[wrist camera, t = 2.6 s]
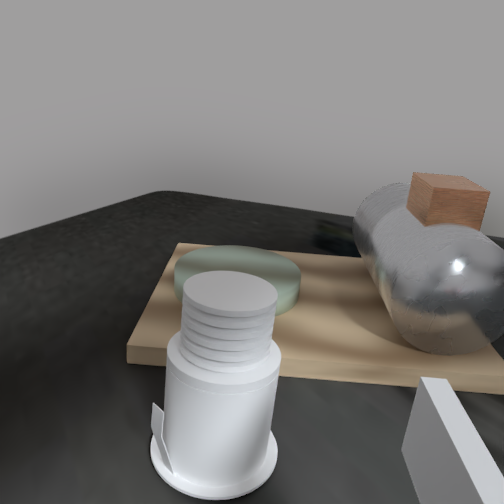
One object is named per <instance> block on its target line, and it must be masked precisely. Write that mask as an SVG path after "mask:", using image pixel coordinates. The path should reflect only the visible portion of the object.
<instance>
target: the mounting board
mask: <svg viewBox="0 0 504 504" xmlns="http://www.w3.org/2000/svg"><path fill="white" fill-rule="evenodd" d="M209 271H235V272H242V273H247V274H250V275H254V276H257V277H259V278H262V279H264V280H266V281H267V282H269V283H270V284H272V285H273V286H274V287H275V289H276V290H277V293H278V298H277V303H276V312H275V319H274V325H273V333H272V340H273V341H274V342H275V343H276V344H277V346H278V347H279V349H280V352H281V363H280V369H279V375H278V376H287V377H299V378H311V379H323V380H335V381H347V382H359V383H371V384H383V385H395V386H407V387H418V384H419V380H420V377H430V378H441V379H447V380H448V382H449V384H450V386H451V387H452V389H453V390H455V391H467V392H479V393H491V394H503V395H504V360H503V359H502V358H501V356H500V355H499V354H498V353H497V351H496V350H495V349H494V348H493V346H492V345H491V344H489V345H487V346H485V347H483V348H481V349H478V350H476V351H473V352H470V353H466V354H461V355H451V356H448V355H436V354H431V353H428V352H425V351H422V350H420V349H418V348H416V347H414V346H413V345H411V344H410V343H409V342H407V341H406V340H405V339H404V338H403V337H402V335H401V334H400V333H399V331H398V330H397V328H396V326H395V324H394V322H393V320H392V318H391V316H390V314H389V312H388V310H387V308H386V306H385V303H384V301H383V299H382V297H381V295H380V293H379V291H378V289H377V287H376V285H375V283H374V281H373V279H372V277H371V275H370V273H369V271H368V269H367V267H366V265H365V263H364V261H363V259H362V258H355V257H343V256H331V255H318V254H306V253H294V252H282V251H270V250H264V249H259V248H254V247H247V246H235V245H224V246H210V245H198V244H186V243H178V245H177V247H176V249H175V251H174V253H173V255H172V257H171V259H170V261H169V263H168V265H167V266H166V268H165V270H164V272H163V274H162V276H161V278H160V280H159V282H158V284H157V286H156V288H155V290H154V292H153V294H152V296H151V298H150V300H149V302H148V304H147V306H146V308H145V310H144V312H143V314H142V316H141V318H140V320H139V321H138V323H137V325H136V327H135V329H134V331H133V333H132V335H131V337H130V339H129V341H128V343H127V363H131V364H143V365H155V366H166V362H167V346H168V343H169V341H170V339H171V338H172V337H173V336H174V335H175V334H176V333H177V332H179V331H180V330H181V318H182V306H183V305H182V300H183V286H184V283H185V281H186V280H187V279H189V278H190V277H192V276H194V275H196V274H199V273H203V272H209Z"/></svg>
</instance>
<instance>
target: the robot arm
mask: <svg viewBox="0 0 504 504" xmlns="http://www.w3.org/2000/svg"><path fill="white" fill-rule="evenodd" d="M401 451H402V453H403V456H404V459H405V462H406V465H407V468H408V470H409V473H410V476H411V479H412V482H413V485H414V487H415V490H416V493H417V496H418V499H419V502H420V504H504V477H503V475H502V474H501V472H500V470H499V469H498V467H497V465H496V463H495V462H494V460H493V458H492V456H491V455H490V453H489V451H488V450H487V448H486V446H485V444H484V443H483V441H482V439H481V437H480V436H479V434H478V432H477V431H476V429H475V427H474V425H473V424H472V422H471V420H470V418H469V417H468V415H467V413H466V412H465V410H464V408H463V406H462V405H461V403H460V401H459V399H458V398H457V396H456V394H455V393H454V391H453V389H452V387H451V386H450V384H449V382H448V380H447V379H441V378H430V377H420V380H419V384H418V388H417V392H416V395H415V399H414V403H413V407H412V411H411V414H410V418H409V422H408V426H407V430H406V433H405V437H404V441H403V445H402V449H401Z"/></svg>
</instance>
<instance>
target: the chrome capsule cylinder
mask: <svg viewBox="0 0 504 504" xmlns="http://www.w3.org/2000/svg"><path fill="white" fill-rule="evenodd" d="M489 194H490V191H488V190H486V189H484V188H483V187H481V186H479V185H477V184H475V183H474V182H472V181H470V180H468V179H466V178H465V177H463V176H451V175H439V174H427V173H416V172H413V176H412V181H411V184H409V183H396V184H390V185H387V186H384V187H382V188H380V189H378V190H376V191H374V192H373V193H371V194H370V195H369V196H368V197H367V198H366V199H365V200H364V201H363V202H362V204H361V205H360V207H359V208H358V210H357V212H356V214H355V217H354V221H353V228H352V229H353V238H354V242H355V244H356V246H357V249H358V251H359V253H360V255H361V257H362V259H363V261H364V263H365V265H366V267H367V269H368V271H369V273H370V275H371V277H372V279H373V281H374V283H375V285H376V287H377V289H378V291H379V293H380V295H381V297H382V299H383V301H384V303H385V306H386V308H387V310H388V312H389V314H390V316H391V318H392V320H393V322H394V324H395V326H396V328H397V330H398V331H399V333H400V334H401V335H402V337H403V338H404V339H405V340H406V341H407V342H409V343H410V344H411V345H413V346H414V347H416V348H418V349H420V350H422V351H425V352H428V353H431V354H436V355H448V356H451V355H461V354H466V353H470V352H473V351H476V350H478V349H481V348H483V347H485V346H487V345H489V344H491V343H492V342H494V341H495V340H496V339H498V338H499V337H500V336H501V335H503V334H504V250H503V249H502V248H500V247H499V246H498V245H497V244H495V243H494V242H493V241H491V240H490V239H489V238H488V237H486V236H485V235H484V234H482V233H481V232H480V228H481V224H482V220H483V217H484V213H485V209H486V206H487V202H488V198H489Z"/></svg>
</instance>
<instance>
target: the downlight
mask: <svg viewBox="0 0 504 504" xmlns="http://www.w3.org/2000/svg"><path fill="white" fill-rule="evenodd" d="M277 298H278V293H277V290H276V289H275V287H274V286H273V285H272V284H270V283H269V282H267V281H266V280H264V279H262V278H259V277H257V276H254V275H250V274H247V273H242V272H235V271H209V272H203V273H199V274H196V275H194V276H192V277H190V278H189V279H187V280H186V281H185V283H184V286H183V300H182V305H183V306H182V318H181V330H180V331H179V332H177V333H176V334H175V335H174V336H173V337H172V338H171V339H170V341H169V343H168V346H167V362H166V381H165V400H164V412H163V411H162V410H161V409H160V408H159V407H158V406H157V405H156V404H155V403H153V407H152V419H151V428H152V431H153V437H152V441H151V449H150V451H151V459H152V463H153V465H154V467H155V469H156V471H157V473H158V474H159V475H160V477H161V478H162V479H163V480H164V481H165V482H166V483H167V484H169V485H170V486H171V487H173V488H174V489H176V490H178V491H180V492H182V493H184V494H187V495H189V496H192V497H196V498H201V499H207V500H225V499H232V498H237V497H240V496H243V495H246V494H248V493H250V492H252V491H254V490H255V489H257V488H259V487H260V486H261V485H262V484H264V483H265V481H266V480H267V479H268V478H269V477H270V476H271V474H272V472H273V470H274V468H275V465H276V461H277V451H278V450H277V444H276V440H275V438H274V436H273V434H272V432H271V431H270V428H271V421H272V414H273V408H274V401H275V395H276V388H277V382H278V375H279V369H280V363H281V352H280V349H279V347H278V346H277V344H276V343H275V342H274V341H273V340H272V333H273V325H274V319H275V312H276V303H277Z"/></svg>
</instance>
